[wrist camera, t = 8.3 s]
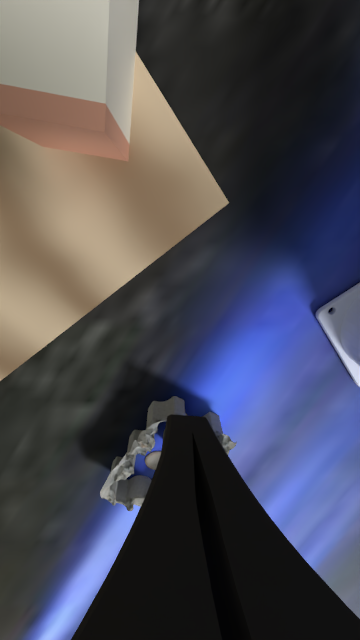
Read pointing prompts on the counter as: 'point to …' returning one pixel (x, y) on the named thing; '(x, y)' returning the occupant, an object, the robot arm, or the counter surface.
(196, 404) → the counter surface
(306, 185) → the counter surface
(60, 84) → the cream block
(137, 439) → the egg carton
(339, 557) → the counter surface
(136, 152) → the wooden board
